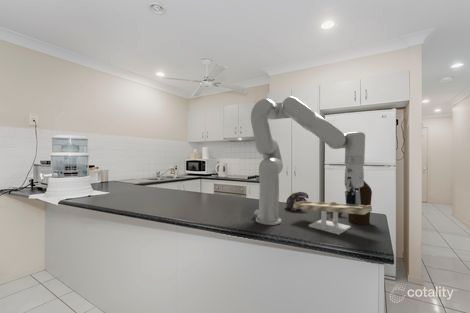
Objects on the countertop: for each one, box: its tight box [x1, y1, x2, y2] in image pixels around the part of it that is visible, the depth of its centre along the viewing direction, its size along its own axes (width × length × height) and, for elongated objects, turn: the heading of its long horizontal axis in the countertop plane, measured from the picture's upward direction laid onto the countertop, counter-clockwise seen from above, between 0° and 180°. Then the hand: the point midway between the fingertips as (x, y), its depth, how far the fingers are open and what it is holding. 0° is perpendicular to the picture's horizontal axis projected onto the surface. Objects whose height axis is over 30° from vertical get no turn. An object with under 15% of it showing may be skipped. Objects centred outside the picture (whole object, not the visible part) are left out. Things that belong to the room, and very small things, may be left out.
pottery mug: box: [329, 201, 343, 218], centre depth 128 cm, size 12×10×8 cm
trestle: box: [308, 211, 352, 235], centre depth 106 cm, size 14×13×8 cm
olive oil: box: [347, 180, 373, 226], centre depth 116 cm, size 11×11×25 cm
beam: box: [294, 200, 373, 215], centre depth 106 cm, size 32×11×3 cm, turn 44°
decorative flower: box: [285, 191, 309, 213], centre depth 139 cm, size 15×12×15 cm
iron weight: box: [344, 190, 361, 206], centre depth 99 cm, size 4×4×6 cm
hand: (352, 202), depth 99 cm, fingers closed on iron weight, 4 cm apart
